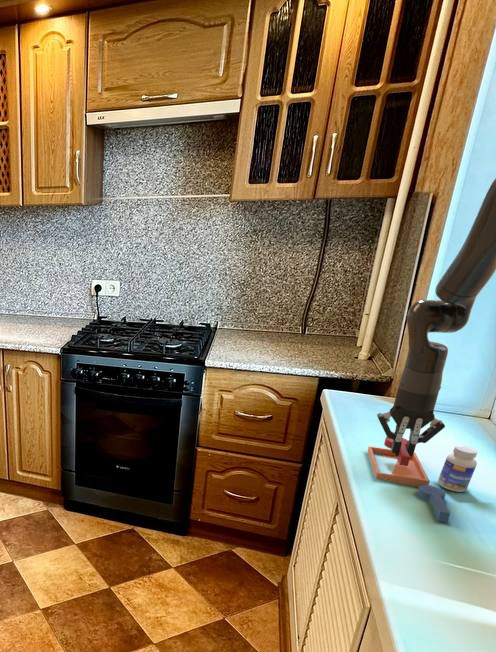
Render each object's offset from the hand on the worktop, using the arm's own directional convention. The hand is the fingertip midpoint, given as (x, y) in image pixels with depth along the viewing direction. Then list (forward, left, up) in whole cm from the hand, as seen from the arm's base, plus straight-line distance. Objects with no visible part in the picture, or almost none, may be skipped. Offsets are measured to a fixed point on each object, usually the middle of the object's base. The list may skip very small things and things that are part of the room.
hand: (401, 455), depth 126 cm
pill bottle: (-9, +5, -5) cm, 12 cm away
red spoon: (-1, -3, -1) cm, 3 cm away
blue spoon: (0, +14, -5) cm, 15 cm away
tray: (-1, -3, -5) cm, 6 cm away
